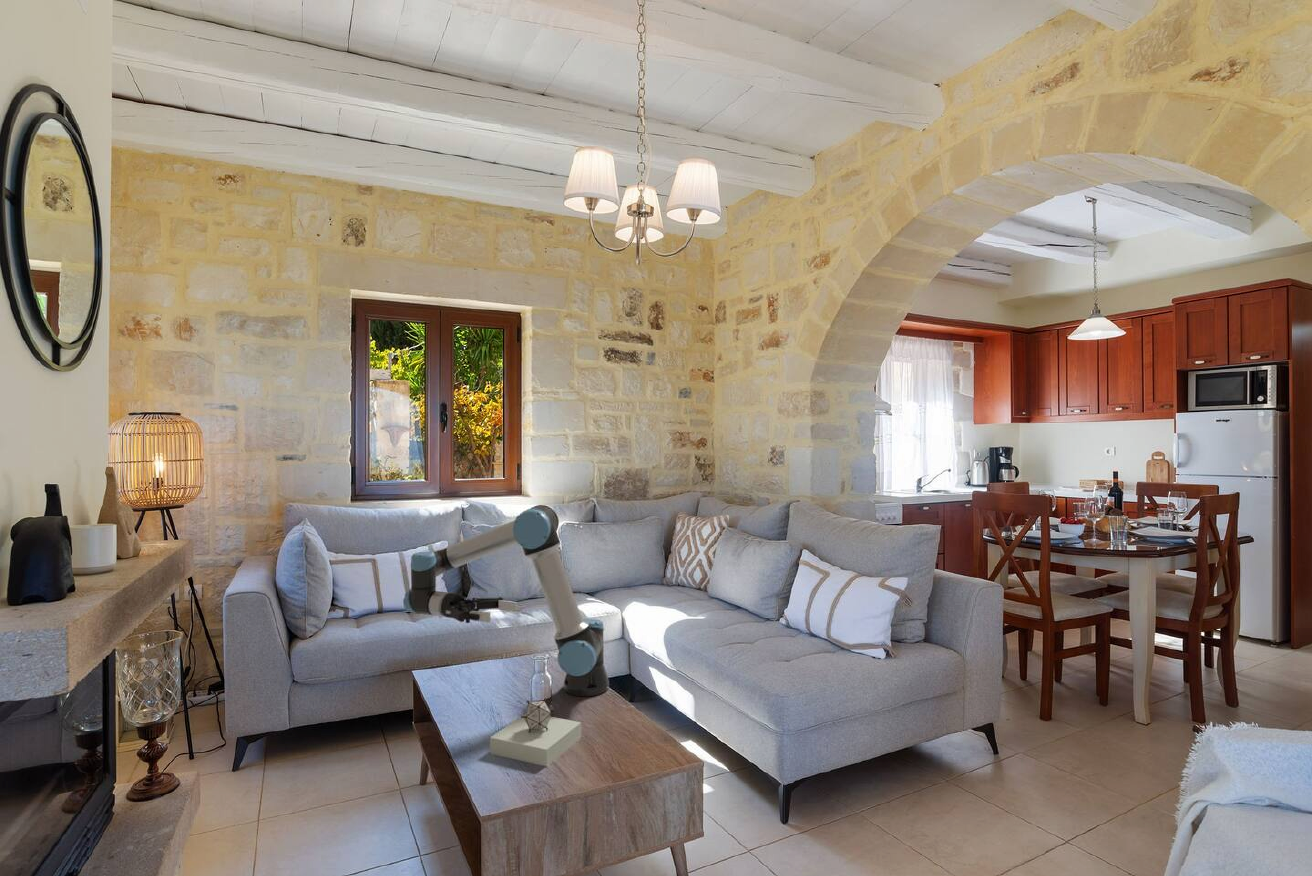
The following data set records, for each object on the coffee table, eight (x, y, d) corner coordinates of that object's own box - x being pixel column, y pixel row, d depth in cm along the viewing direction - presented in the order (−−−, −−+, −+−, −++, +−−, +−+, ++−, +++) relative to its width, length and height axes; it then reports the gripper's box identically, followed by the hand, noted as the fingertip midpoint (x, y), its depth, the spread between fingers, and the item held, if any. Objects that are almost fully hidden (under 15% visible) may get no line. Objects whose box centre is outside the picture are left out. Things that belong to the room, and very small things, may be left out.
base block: (527, 729, 205) (527, 712, 205) (581, 740, 198) (581, 722, 198) (490, 755, 189) (489, 737, 189) (546, 768, 182) (546, 749, 182)
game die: (541, 745, 192) (545, 725, 186) (514, 732, 194) (517, 711, 188) (556, 718, 199) (560, 698, 194) (529, 705, 201) (533, 685, 195)
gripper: (473, 607, 232) (526, 614, 223) (419, 627, 209) (477, 635, 201) (472, 584, 232) (526, 590, 223) (419, 602, 209) (477, 609, 200)
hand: (503, 612), depth 212 cm, fingers open, 13 cm apart
